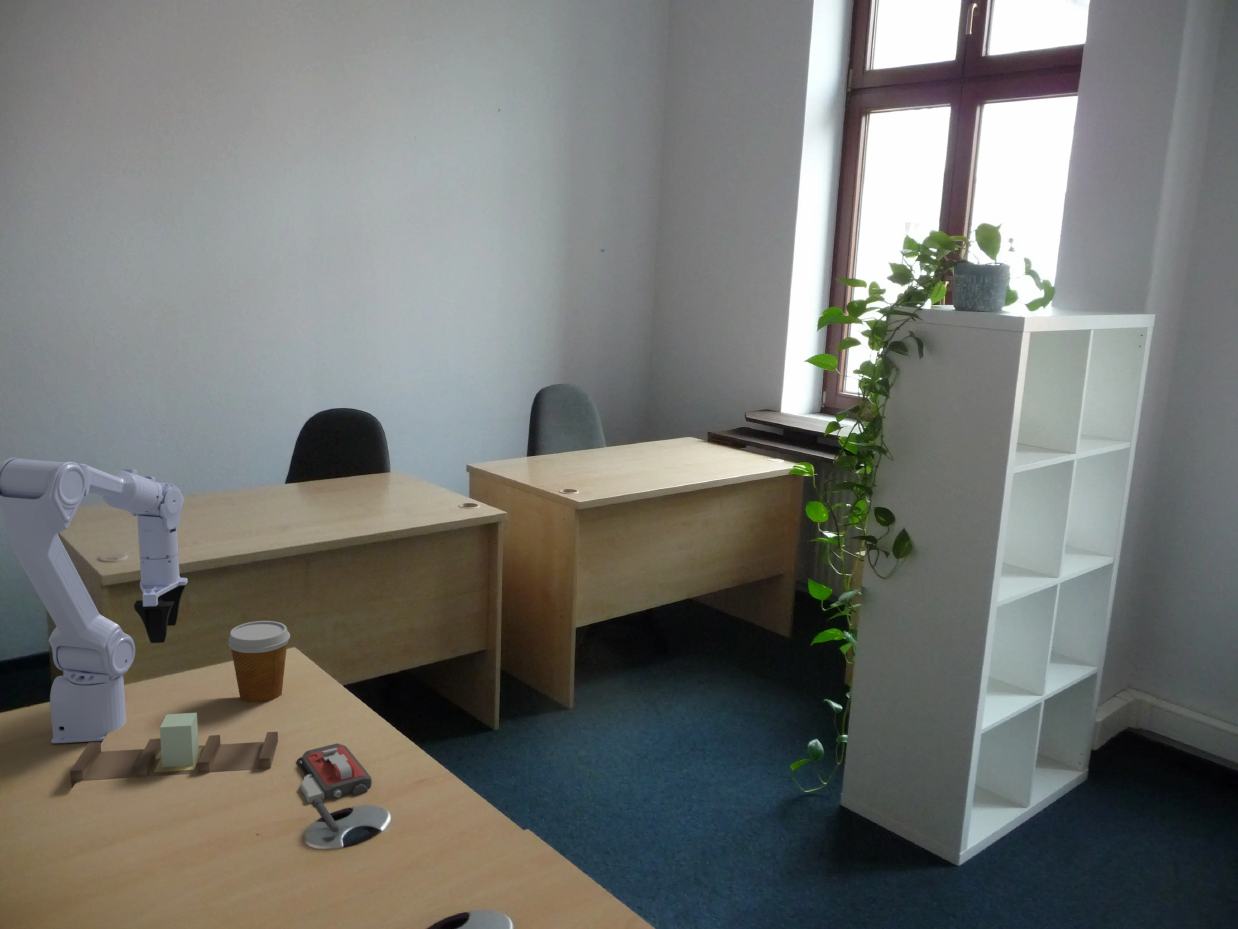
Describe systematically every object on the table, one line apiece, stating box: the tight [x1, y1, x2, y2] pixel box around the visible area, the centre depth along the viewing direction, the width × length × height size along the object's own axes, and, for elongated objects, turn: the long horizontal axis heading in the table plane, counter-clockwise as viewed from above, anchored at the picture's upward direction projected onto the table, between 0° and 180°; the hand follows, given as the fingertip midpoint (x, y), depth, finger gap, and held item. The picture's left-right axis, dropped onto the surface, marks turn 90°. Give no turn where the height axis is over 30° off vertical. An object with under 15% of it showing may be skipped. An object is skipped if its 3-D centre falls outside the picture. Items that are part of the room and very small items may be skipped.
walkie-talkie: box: [296, 743, 373, 834], centre depth 131 cm, size 9×4×20 cm
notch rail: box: [69, 731, 279, 789], centre depth 137 cm, size 26×8×2 cm, turn 102°
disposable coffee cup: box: [227, 620, 291, 704], centre depth 158 cm, size 10×10×12 cm
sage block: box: [159, 712, 200, 767], centre depth 136 cm, size 4×4×6 cm
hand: (163, 633), depth 160 cm, fingers open, 7 cm apart
